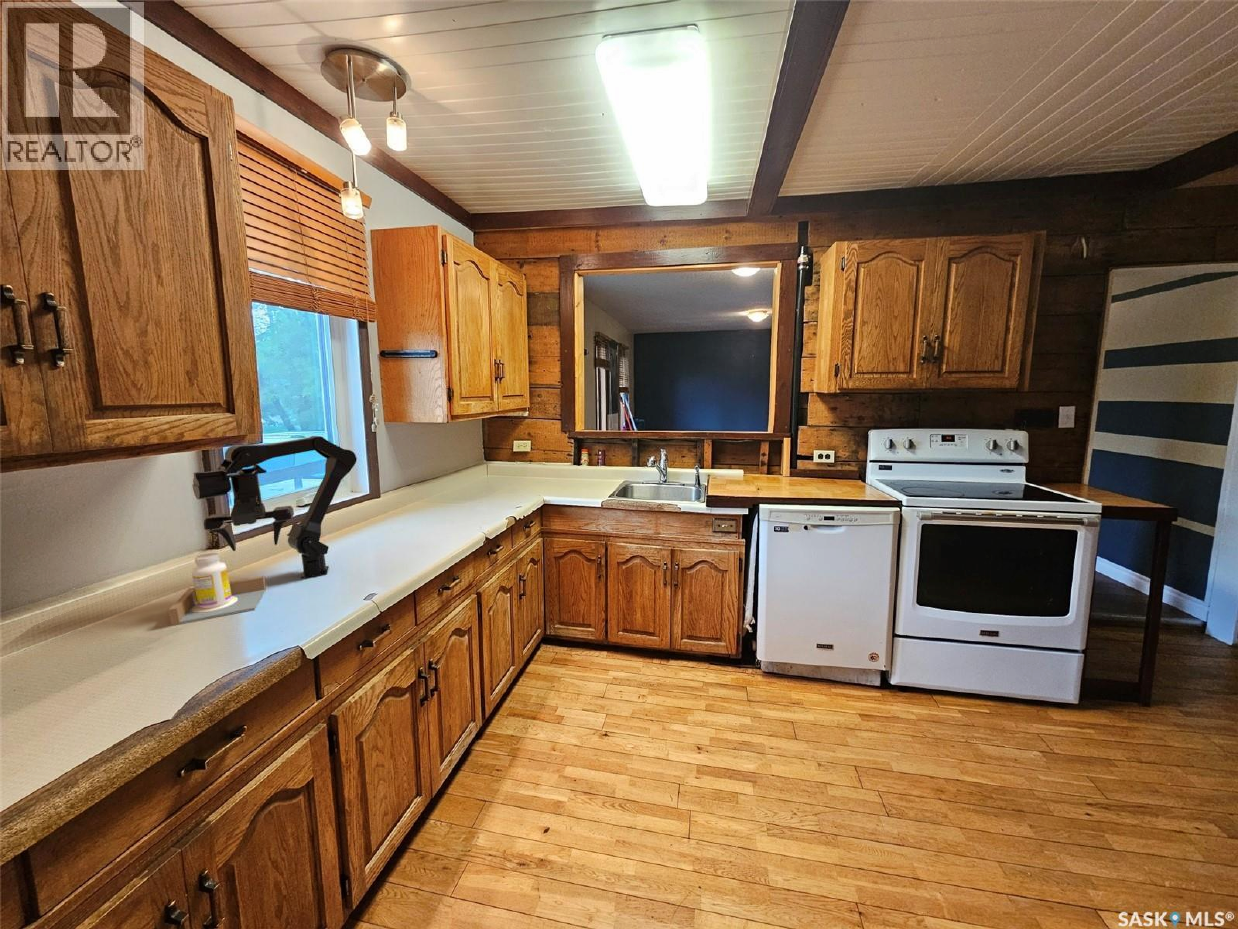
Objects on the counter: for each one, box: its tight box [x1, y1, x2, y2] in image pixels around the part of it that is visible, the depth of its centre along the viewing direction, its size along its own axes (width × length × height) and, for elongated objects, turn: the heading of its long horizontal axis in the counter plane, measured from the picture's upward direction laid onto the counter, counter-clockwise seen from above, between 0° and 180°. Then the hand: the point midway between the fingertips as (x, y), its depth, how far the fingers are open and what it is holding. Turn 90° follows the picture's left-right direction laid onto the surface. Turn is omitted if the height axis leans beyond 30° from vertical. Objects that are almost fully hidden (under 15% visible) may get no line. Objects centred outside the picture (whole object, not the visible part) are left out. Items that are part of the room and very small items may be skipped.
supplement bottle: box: [191, 552, 232, 609], centre depth 121 cm, size 7×7×13 cm
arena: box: [168, 575, 267, 627], centre depth 122 cm, size 14×16×4 cm
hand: (255, 547), depth 130 cm, fingers open, 9 cm apart
